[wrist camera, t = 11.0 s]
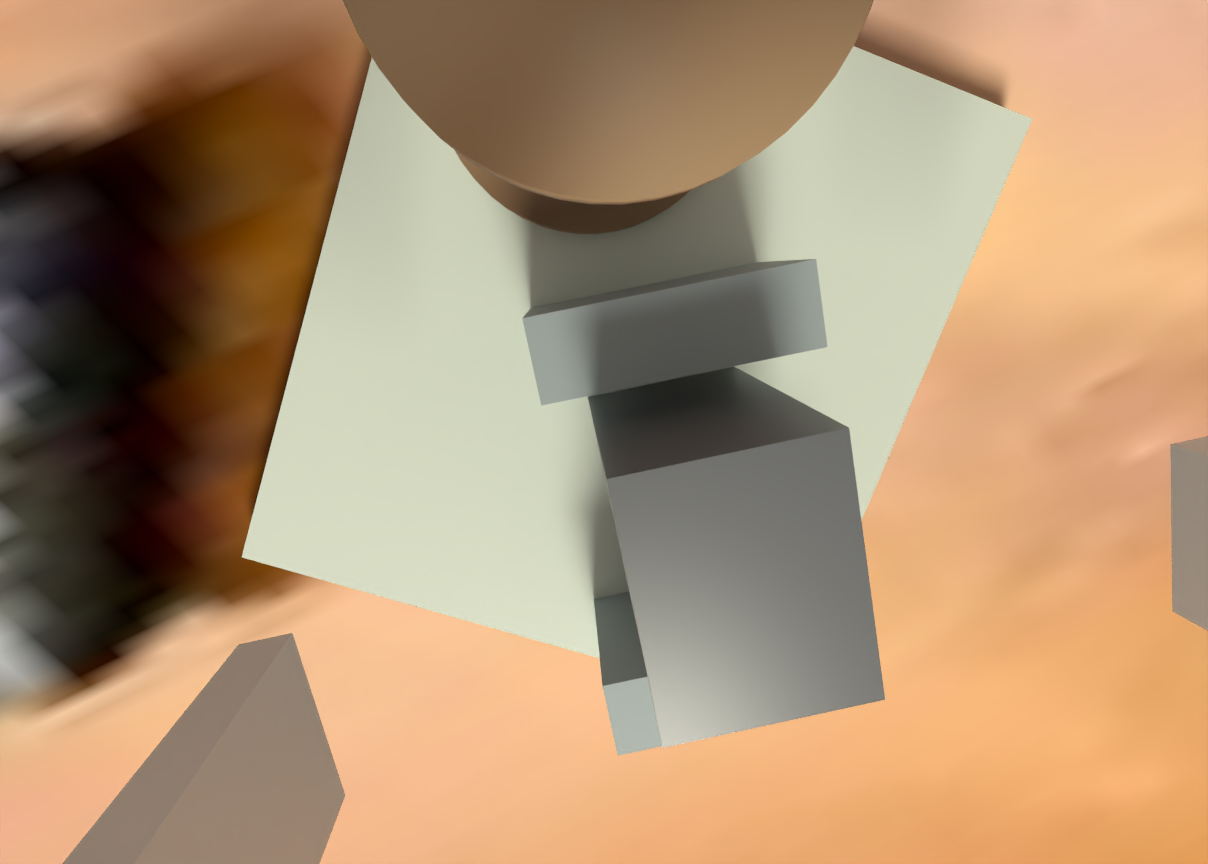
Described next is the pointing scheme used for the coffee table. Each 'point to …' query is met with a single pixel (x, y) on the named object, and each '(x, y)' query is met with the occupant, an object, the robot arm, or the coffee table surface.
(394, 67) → the bobbin
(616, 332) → the notch
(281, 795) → the robot arm
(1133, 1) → the coffee table surface
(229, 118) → the coffee table surface
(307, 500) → the board
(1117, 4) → the coffee table surface
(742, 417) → the gray rectangular block
